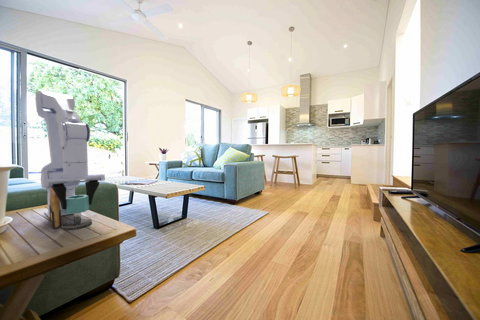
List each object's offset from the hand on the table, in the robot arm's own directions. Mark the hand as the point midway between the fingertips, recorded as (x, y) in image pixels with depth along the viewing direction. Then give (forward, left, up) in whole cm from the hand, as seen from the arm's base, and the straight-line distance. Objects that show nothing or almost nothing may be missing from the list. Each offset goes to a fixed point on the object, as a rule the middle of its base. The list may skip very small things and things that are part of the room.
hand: (77, 206), depth 60 cm
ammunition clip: (-7, -4, -6) cm, 10 cm away
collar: (0, 0, -1) cm, 1 cm away
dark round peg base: (0, 0, -6) cm, 6 cm away
